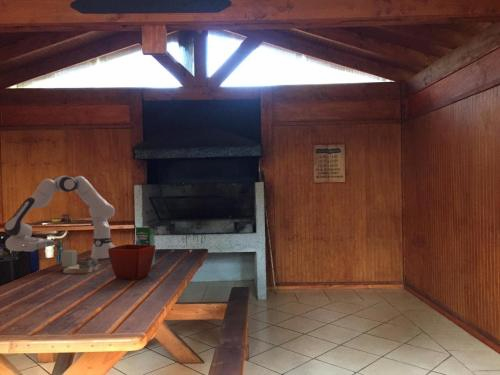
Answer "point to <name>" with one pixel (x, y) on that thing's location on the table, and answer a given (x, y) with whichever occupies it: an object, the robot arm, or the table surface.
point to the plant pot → (131, 260)
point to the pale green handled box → (68, 257)
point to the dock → (84, 266)
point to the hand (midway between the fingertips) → (51, 244)
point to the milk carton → (145, 237)
